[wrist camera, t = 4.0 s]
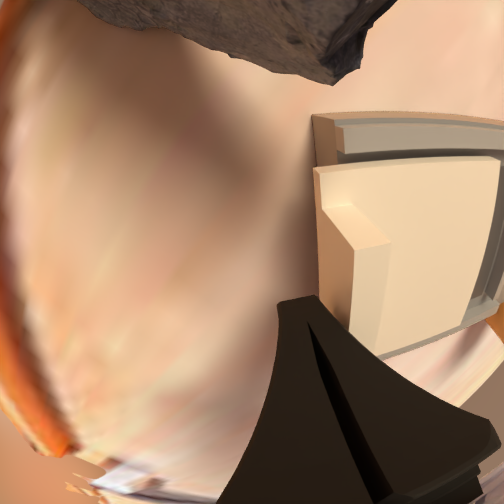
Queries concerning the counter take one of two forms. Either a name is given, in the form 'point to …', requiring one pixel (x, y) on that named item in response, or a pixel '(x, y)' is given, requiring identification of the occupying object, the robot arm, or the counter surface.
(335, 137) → the housing
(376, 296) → the lid
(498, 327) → the orange cylinder
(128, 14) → the stone
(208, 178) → the counter surface
